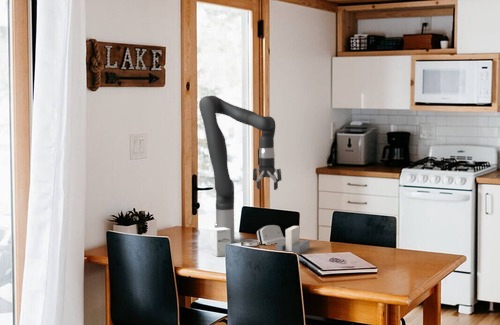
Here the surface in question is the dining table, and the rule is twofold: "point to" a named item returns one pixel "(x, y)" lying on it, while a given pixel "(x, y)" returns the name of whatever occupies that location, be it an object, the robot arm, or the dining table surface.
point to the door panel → (292, 237)
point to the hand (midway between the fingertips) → (267, 189)
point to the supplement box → (219, 240)
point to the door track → (294, 246)
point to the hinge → (270, 235)
